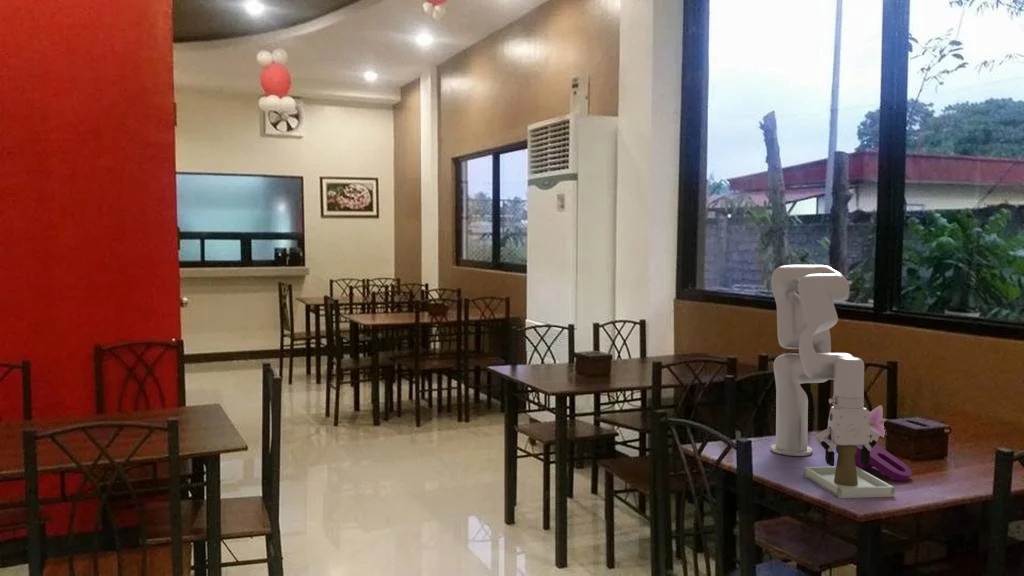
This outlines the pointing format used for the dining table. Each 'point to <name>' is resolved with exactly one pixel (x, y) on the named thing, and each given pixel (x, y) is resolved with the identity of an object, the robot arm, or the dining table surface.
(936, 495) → the dining table surface
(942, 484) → the dining table surface
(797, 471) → the dining table surface
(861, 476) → the tray
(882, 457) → the mounting bracket
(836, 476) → the cork
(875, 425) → the lily
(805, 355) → the robot arm
